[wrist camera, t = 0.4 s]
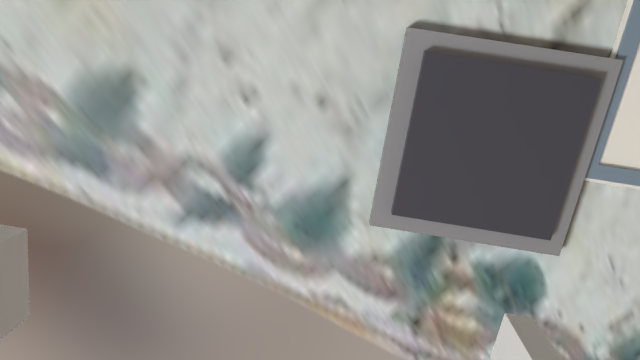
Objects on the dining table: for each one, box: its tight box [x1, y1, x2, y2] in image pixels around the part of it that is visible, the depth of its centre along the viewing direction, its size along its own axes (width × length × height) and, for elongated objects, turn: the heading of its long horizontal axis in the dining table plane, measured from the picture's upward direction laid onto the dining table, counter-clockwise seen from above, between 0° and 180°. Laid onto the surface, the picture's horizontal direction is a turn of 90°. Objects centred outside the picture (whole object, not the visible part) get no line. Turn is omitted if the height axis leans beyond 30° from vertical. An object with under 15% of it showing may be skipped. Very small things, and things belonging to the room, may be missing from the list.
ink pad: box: [370, 27, 623, 256], centre depth 35 cm, size 16×16×2 cm
